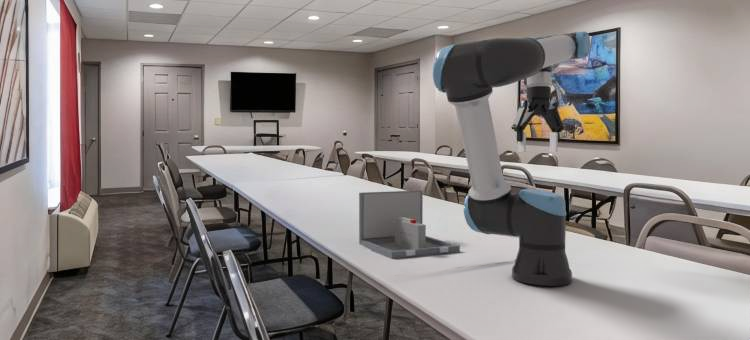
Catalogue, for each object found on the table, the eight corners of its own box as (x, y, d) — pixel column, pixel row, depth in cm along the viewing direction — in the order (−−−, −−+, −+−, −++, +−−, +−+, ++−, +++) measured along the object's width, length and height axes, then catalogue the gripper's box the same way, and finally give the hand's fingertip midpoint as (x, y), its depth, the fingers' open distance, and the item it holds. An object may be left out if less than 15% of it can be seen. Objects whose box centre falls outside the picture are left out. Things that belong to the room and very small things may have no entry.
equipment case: (460, 252, 162) (461, 195, 161) (392, 259, 151) (392, 198, 150) (420, 240, 184) (421, 190, 183) (359, 245, 173) (359, 192, 172)
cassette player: (425, 253, 160) (425, 221, 160) (418, 254, 159) (418, 222, 159) (401, 245, 174) (401, 216, 174) (394, 245, 173) (394, 216, 173)
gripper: (558, 90, 174) (557, 152, 175) (500, 85, 163) (500, 152, 164) (575, 87, 168) (574, 152, 168) (516, 83, 157) (516, 152, 157)
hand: (537, 152), depth 166 cm, fingers open, 13 cm apart
